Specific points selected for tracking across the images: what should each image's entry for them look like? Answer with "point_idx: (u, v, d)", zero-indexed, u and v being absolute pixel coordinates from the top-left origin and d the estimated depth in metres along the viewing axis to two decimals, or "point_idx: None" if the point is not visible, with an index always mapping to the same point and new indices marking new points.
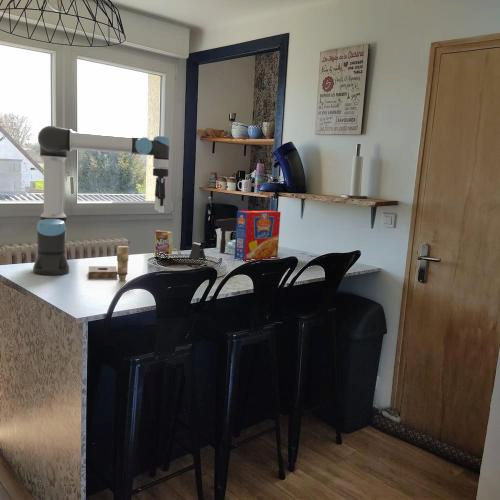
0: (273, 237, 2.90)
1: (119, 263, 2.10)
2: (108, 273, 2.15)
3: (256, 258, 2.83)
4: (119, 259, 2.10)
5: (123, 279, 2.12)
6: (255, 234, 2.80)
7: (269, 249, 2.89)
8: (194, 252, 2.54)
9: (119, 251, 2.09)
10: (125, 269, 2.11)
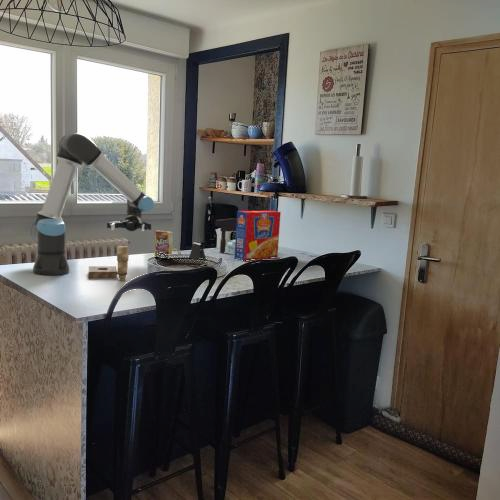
0: (273, 237, 2.90)
1: (119, 263, 2.10)
2: (108, 273, 2.15)
3: (256, 258, 2.83)
4: (119, 259, 2.10)
5: (123, 279, 2.12)
6: (255, 234, 2.80)
7: (269, 249, 2.89)
8: (194, 252, 2.54)
9: (119, 251, 2.09)
10: (125, 269, 2.11)
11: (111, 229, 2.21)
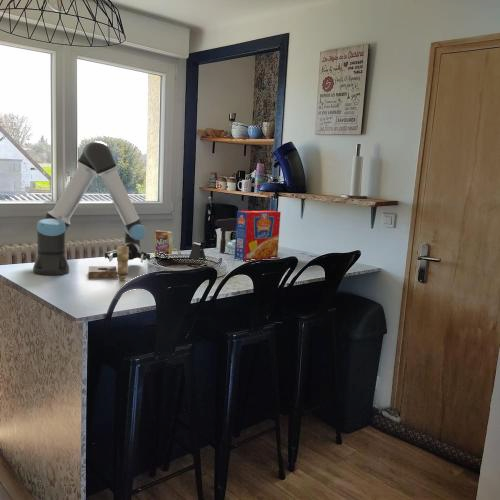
0: (273, 237, 2.90)
1: (119, 263, 2.10)
2: (108, 273, 2.15)
3: (256, 258, 2.83)
4: (119, 259, 2.10)
5: (123, 279, 2.12)
6: (255, 234, 2.80)
7: (269, 249, 2.89)
8: (194, 252, 2.54)
9: (119, 251, 2.09)
10: (125, 269, 2.11)
11: (109, 260, 2.15)
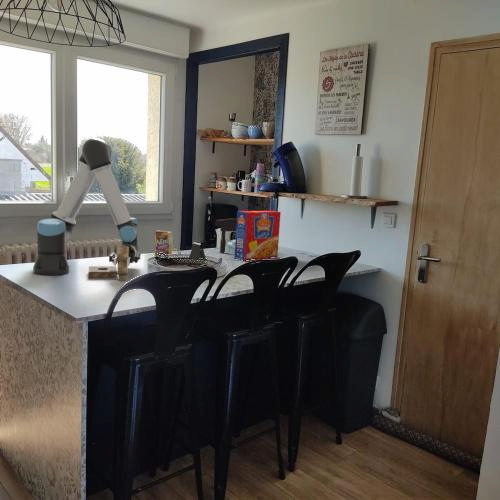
0: (273, 237, 2.90)
1: (119, 263, 2.10)
2: (108, 273, 2.15)
3: (256, 258, 2.83)
4: (119, 259, 2.10)
5: (123, 279, 2.12)
6: (255, 234, 2.80)
7: (269, 249, 2.89)
8: (194, 252, 2.54)
9: (119, 251, 2.09)
10: (125, 269, 2.11)
11: None
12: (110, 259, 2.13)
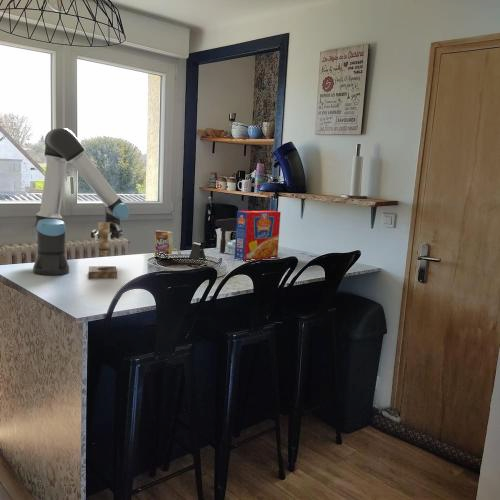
0: (273, 237, 2.90)
1: (100, 238, 2.16)
2: (108, 273, 2.15)
3: (256, 258, 2.83)
4: (100, 234, 2.15)
5: (105, 254, 2.18)
6: (255, 234, 2.80)
7: (269, 249, 2.89)
8: (194, 252, 2.54)
9: (100, 227, 2.15)
10: (106, 245, 2.17)
11: (95, 239, 2.12)
12: (92, 235, 2.19)
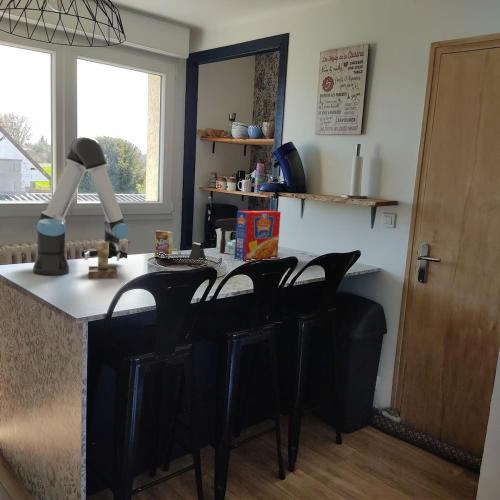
0: (273, 237, 2.90)
1: (99, 258, 2.17)
2: (108, 273, 2.15)
3: (256, 258, 2.83)
4: (99, 254, 2.16)
5: None
6: (255, 234, 2.80)
7: (269, 249, 2.89)
8: (194, 252, 2.54)
9: (99, 246, 2.16)
10: (105, 264, 2.18)
11: (85, 259, 2.15)
12: (82, 254, 2.21)
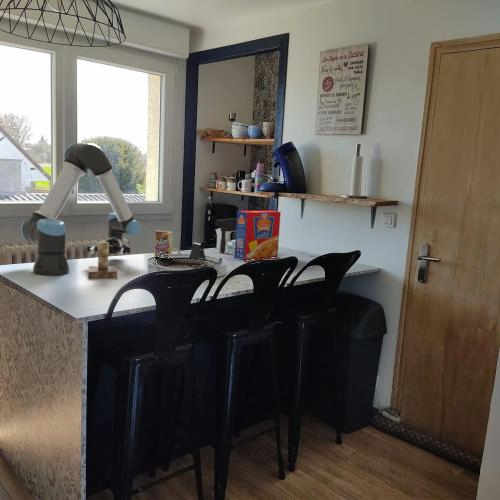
0: (273, 237, 2.90)
1: (99, 258, 2.17)
2: (108, 273, 2.15)
3: (256, 258, 2.83)
4: (99, 254, 2.16)
5: None
6: (255, 234, 2.80)
7: (269, 249, 2.89)
8: (194, 252, 2.54)
9: (99, 246, 2.16)
10: (105, 264, 2.18)
11: (90, 253, 2.27)
12: (87, 249, 2.34)
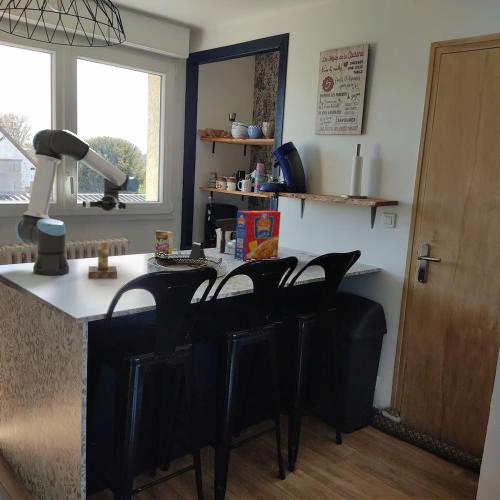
0: (273, 237, 2.90)
1: (99, 258, 2.17)
2: (108, 273, 2.15)
3: (256, 258, 2.83)
4: (99, 254, 2.16)
5: None
6: (255, 234, 2.80)
7: (269, 249, 2.89)
8: (194, 252, 2.54)
9: (99, 246, 2.16)
10: (105, 264, 2.18)
11: (86, 207, 2.28)
12: (83, 204, 2.35)
